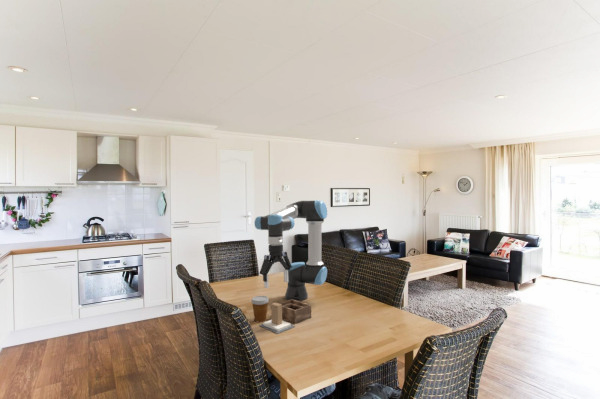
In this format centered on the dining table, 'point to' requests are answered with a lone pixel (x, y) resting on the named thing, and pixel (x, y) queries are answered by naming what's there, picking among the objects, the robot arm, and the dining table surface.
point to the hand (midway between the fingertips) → (276, 284)
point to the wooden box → (295, 311)
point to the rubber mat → (275, 330)
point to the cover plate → (277, 327)
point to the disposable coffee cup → (260, 308)
